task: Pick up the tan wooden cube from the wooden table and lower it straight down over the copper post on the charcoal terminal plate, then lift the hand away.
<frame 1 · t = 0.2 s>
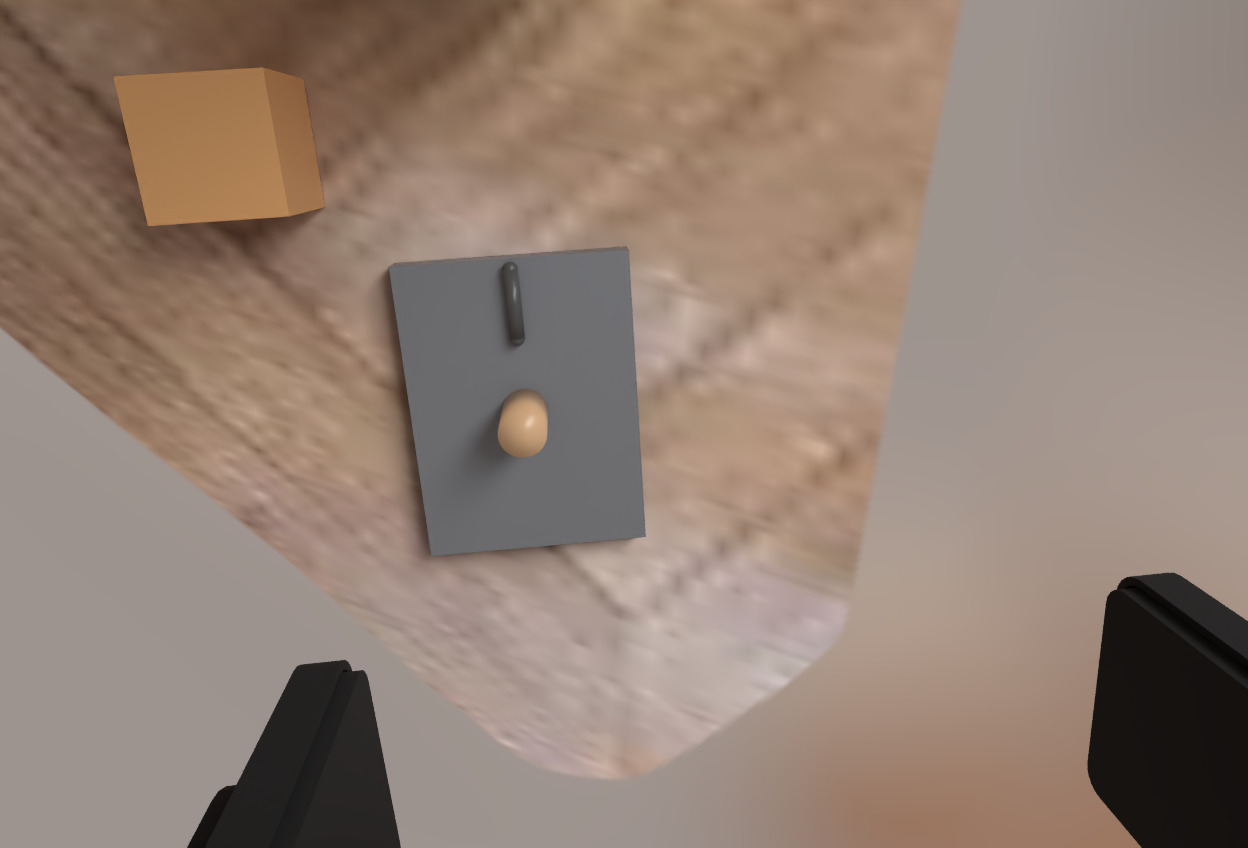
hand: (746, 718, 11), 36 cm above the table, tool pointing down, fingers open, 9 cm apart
tan wooden cube: (252, 148, 42), on the table
terminal plate: (526, 402, 47), on the table
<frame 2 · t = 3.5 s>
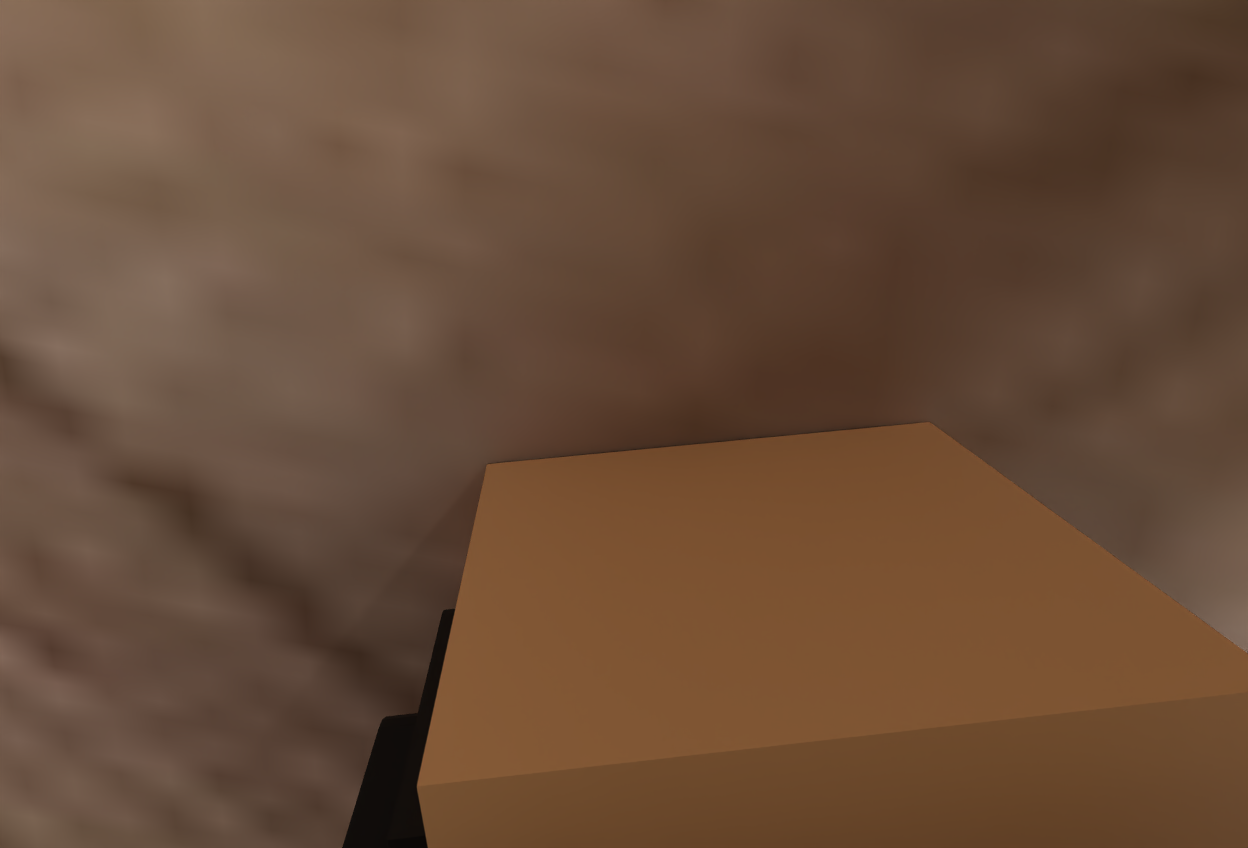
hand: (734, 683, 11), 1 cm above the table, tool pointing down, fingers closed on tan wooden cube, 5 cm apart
tan wooden cube: (719, 637, 12), on the table, touching gripper
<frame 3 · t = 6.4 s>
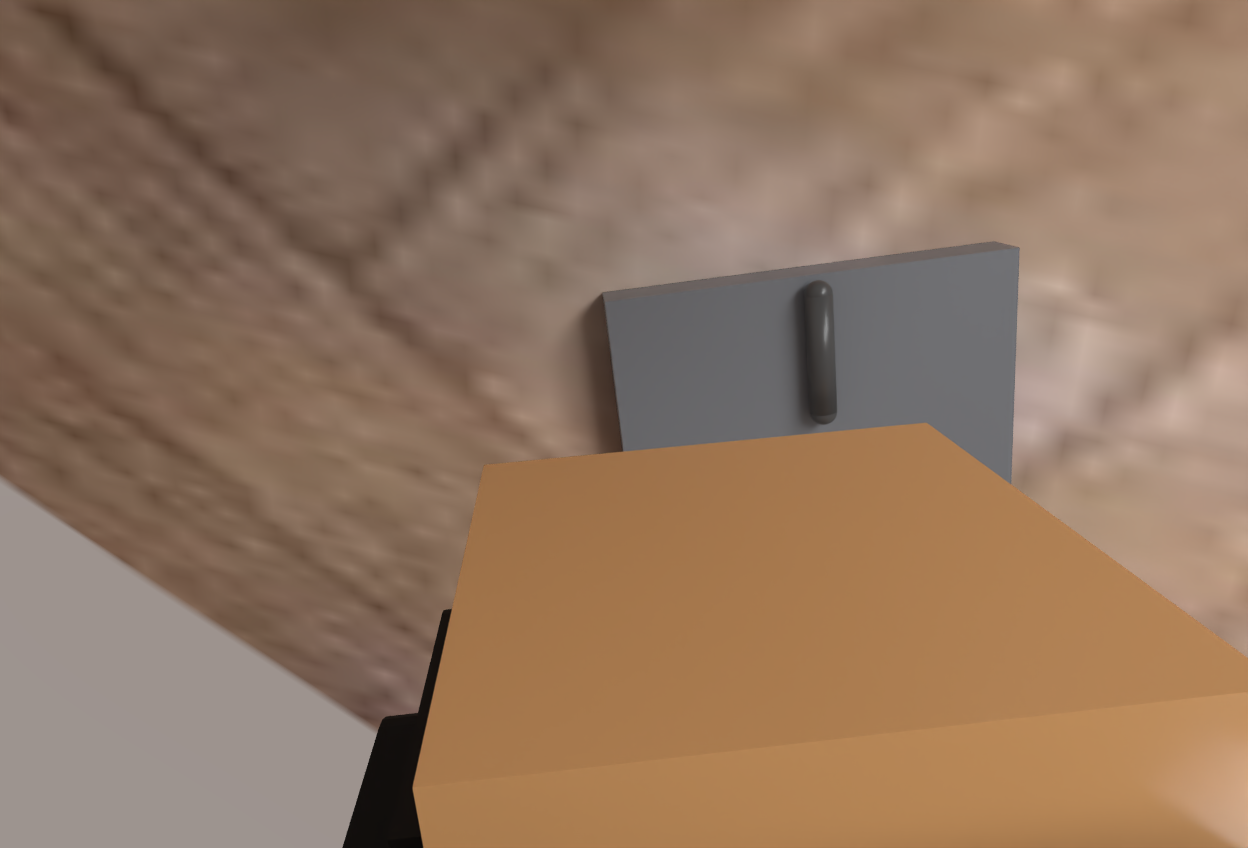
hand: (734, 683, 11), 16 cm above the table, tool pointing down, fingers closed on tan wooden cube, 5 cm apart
tan wooden cube: (716, 637, 12), point 15 cm above the table, touching gripper
terminal plate: (811, 507, 28), on the table
when the fingers open (4 cm above the table, at t = 9.3 s): tan wooden cube stays where it is, resting on terminal plate.
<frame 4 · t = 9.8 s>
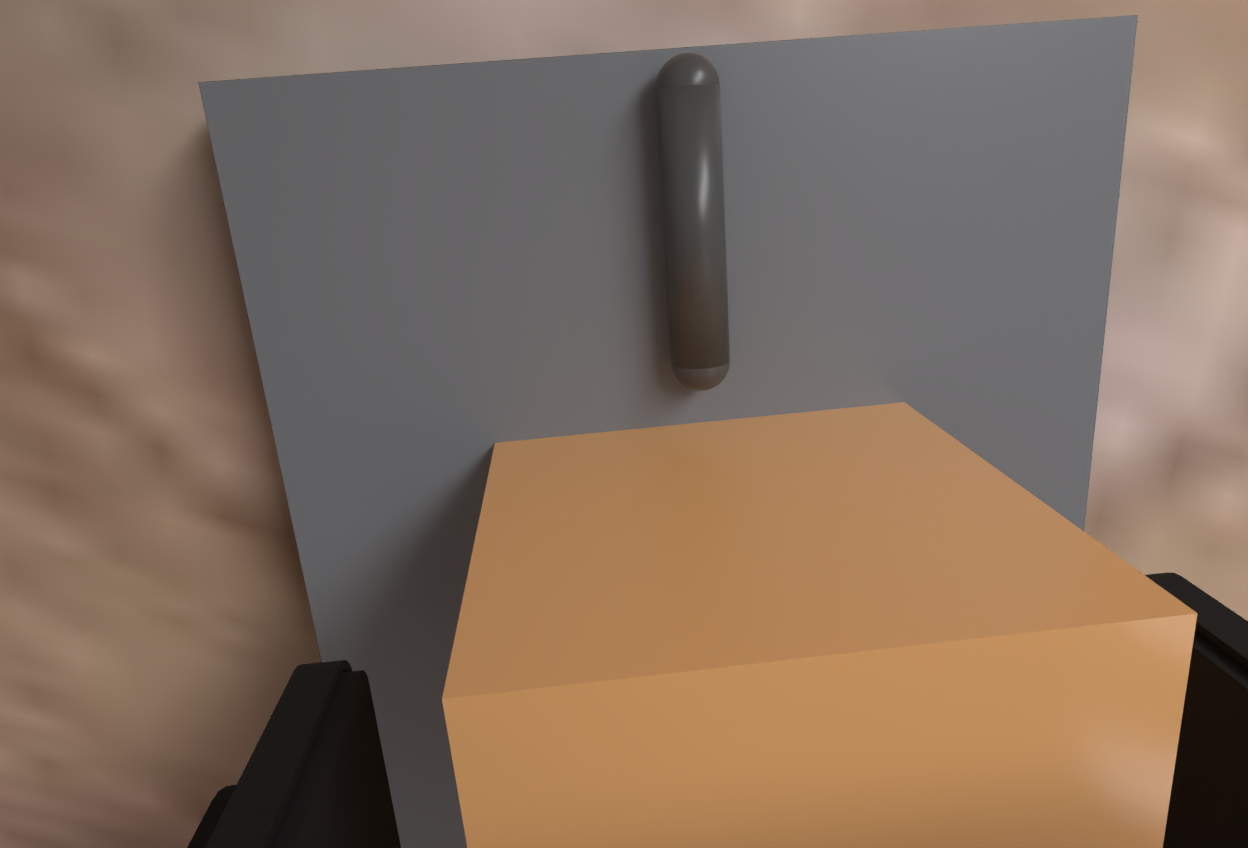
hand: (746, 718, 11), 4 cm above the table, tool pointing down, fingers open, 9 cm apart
tan wooden cube: (711, 604, 13), point 1 cm above the table, touching terminal plate
terminal plate: (693, 560, 15), on the table
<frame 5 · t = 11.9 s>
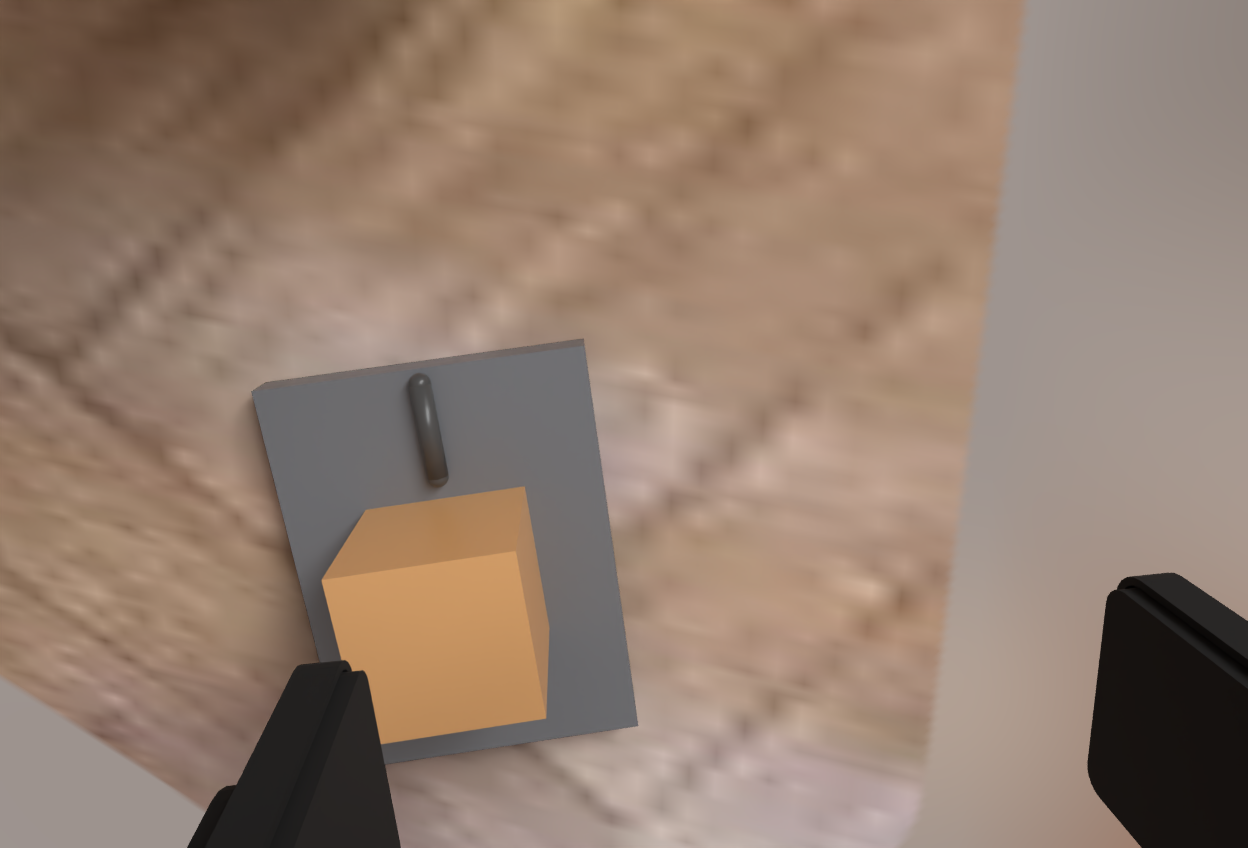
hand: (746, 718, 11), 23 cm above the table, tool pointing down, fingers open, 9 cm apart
tan wooden cube: (460, 570, 33), point 1 cm above the table, touching terminal plate
terminal plate: (463, 554, 34), on the table
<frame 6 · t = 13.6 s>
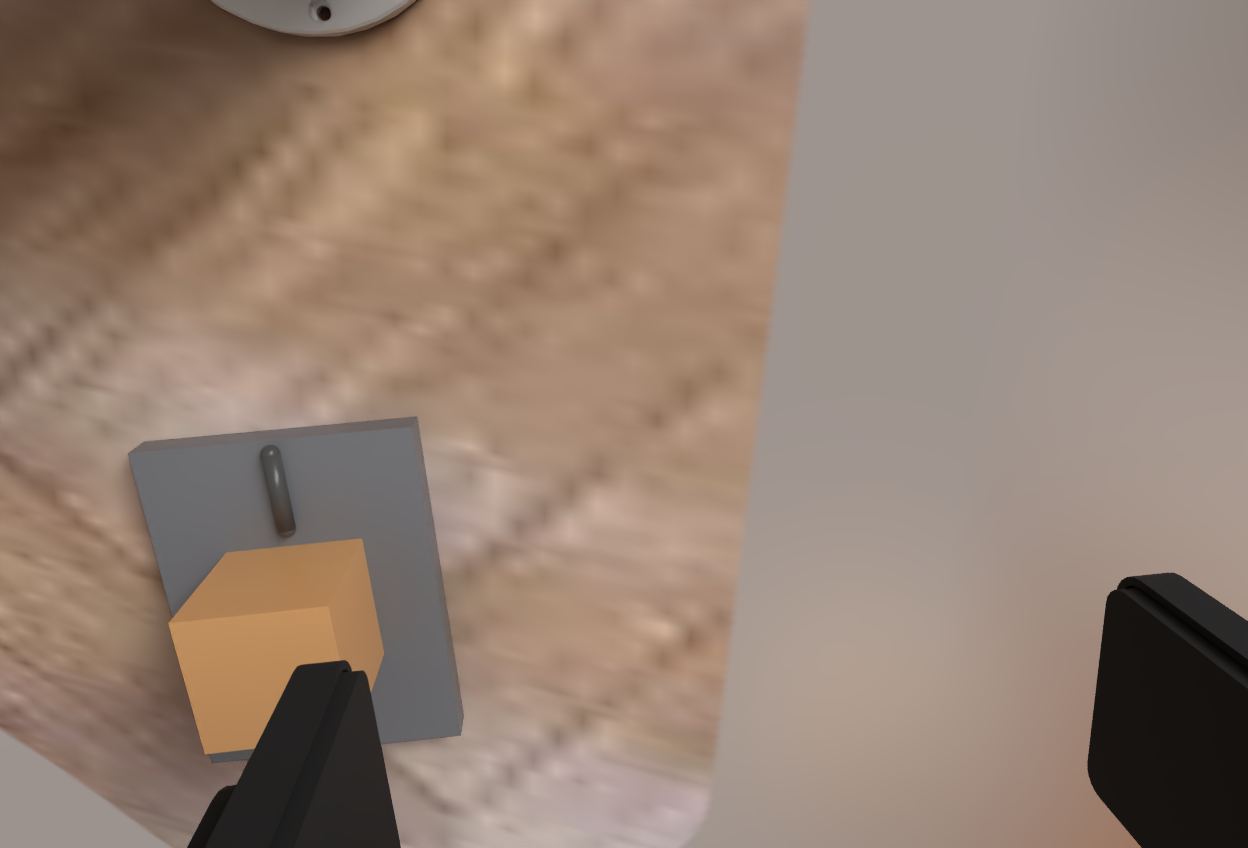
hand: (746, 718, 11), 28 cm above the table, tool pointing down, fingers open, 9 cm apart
tan wooden cube: (307, 604, 39), point 1 cm above the table, touching terminal plate
terminal plate: (314, 588, 40), on the table
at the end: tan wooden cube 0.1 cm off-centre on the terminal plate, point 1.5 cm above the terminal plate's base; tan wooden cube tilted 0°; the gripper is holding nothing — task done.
